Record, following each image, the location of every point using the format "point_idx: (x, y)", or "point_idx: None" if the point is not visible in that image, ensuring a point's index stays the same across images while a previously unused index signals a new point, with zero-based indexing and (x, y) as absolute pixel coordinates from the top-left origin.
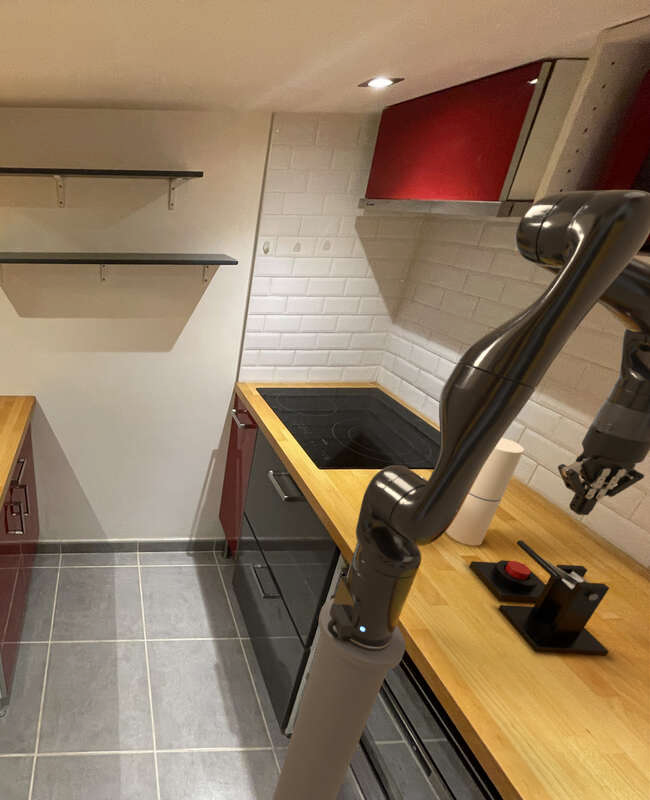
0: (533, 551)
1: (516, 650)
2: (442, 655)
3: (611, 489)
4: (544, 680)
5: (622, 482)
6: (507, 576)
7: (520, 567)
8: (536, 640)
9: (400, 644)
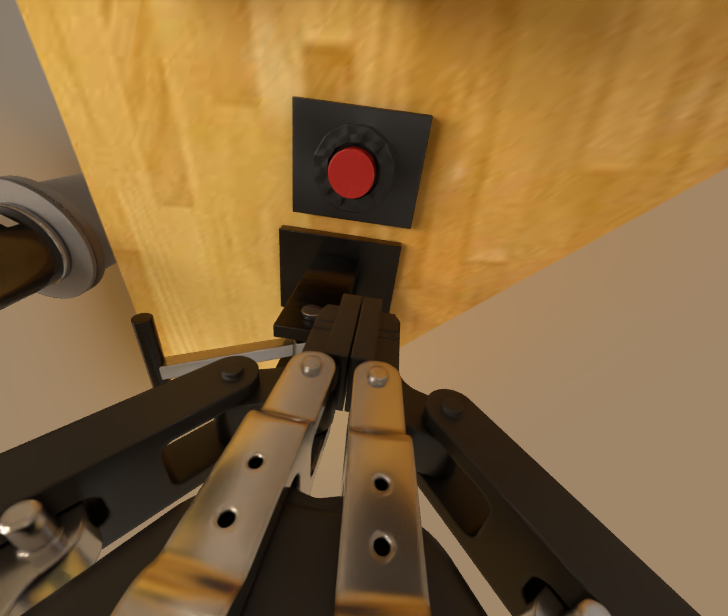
0: (147, 360)
1: (258, 296)
2: (146, 291)
3: (427, 487)
4: (265, 334)
5: (491, 567)
6: (318, 183)
7: (352, 176)
8: (287, 297)
9: (85, 276)
